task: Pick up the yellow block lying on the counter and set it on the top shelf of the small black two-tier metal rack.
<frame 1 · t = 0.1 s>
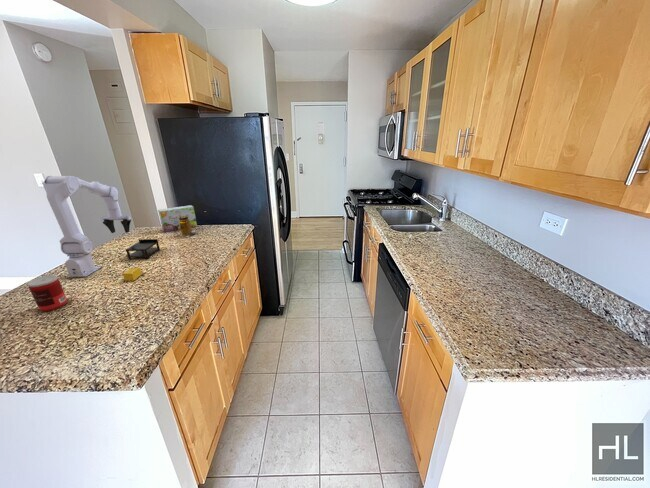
hand: (120, 232, 145), 10 cm above the countertop, tool pointing down, fingers open, 7 cm apart
yellow block: (133, 277, 118), on the countertop
condiment: (188, 234, 172), on the countertop
canned food: (54, 306, 97), on the countertop
rack: (145, 254, 141), on the countertop
snack box: (180, 228, 184), on the countertop
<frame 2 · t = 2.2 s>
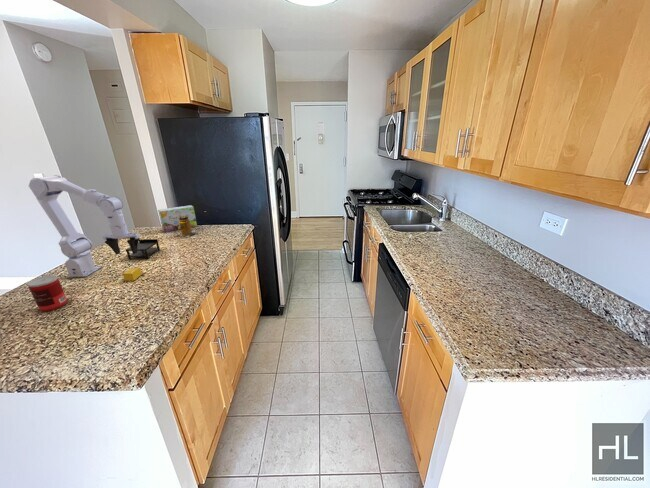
hand: (126, 253, 119), 10 cm above the countertop, tool pointing down, fingers open, 7 cm apart
nothing on the countertop moved.
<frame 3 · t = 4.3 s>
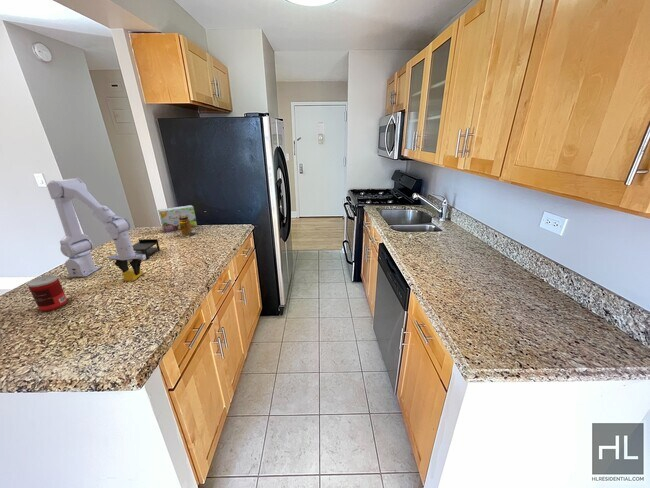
hand: (132, 274, 117), 2 cm above the countertop, tool pointing down, fingers closed on yellow block, 4 cm apart
yellow block: (133, 277, 118), on the countertop, touching gripper
everything else where it was.
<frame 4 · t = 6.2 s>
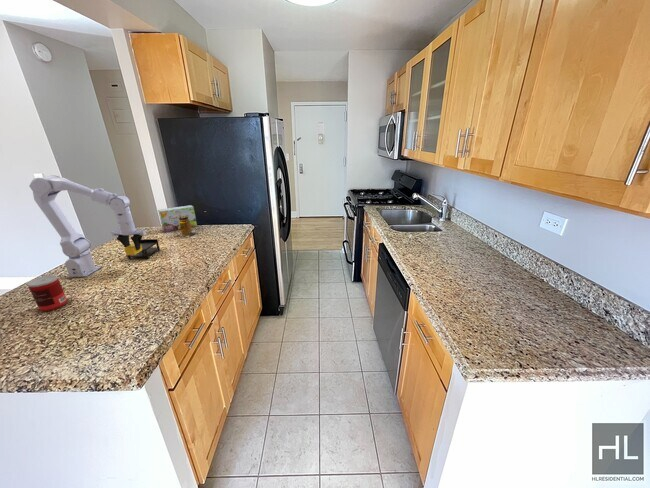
hand: (133, 249, 124), 9 cm above the countertop, tool pointing down, fingers closed on yellow block, 4 cm apart
yellow block: (134, 252, 125), point 8 cm above the countertop, touching gripper
everything else where it was.
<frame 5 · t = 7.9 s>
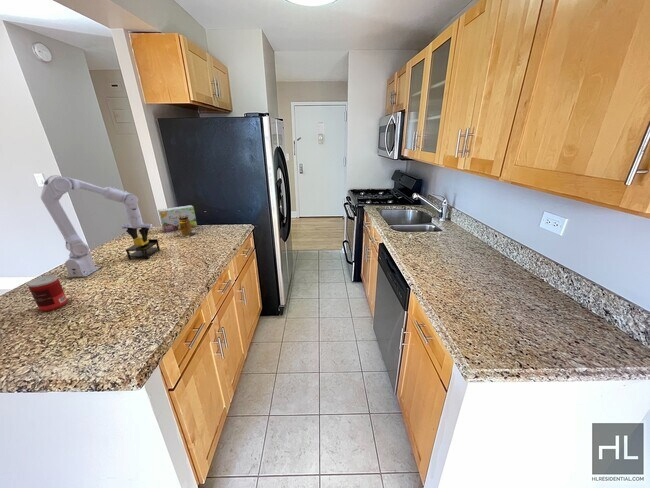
hand: (141, 241, 138), 8 cm above the countertop, tool pointing down, fingers closed on yellow block, 4 cm apart
yellow block: (142, 243, 139), point 6 cm above the countertop, touching gripper
everything else where it was.
when the fingers open (7 cm above the countertop, at t = 8.5 s): yellow block stays where it is, resting on rack.
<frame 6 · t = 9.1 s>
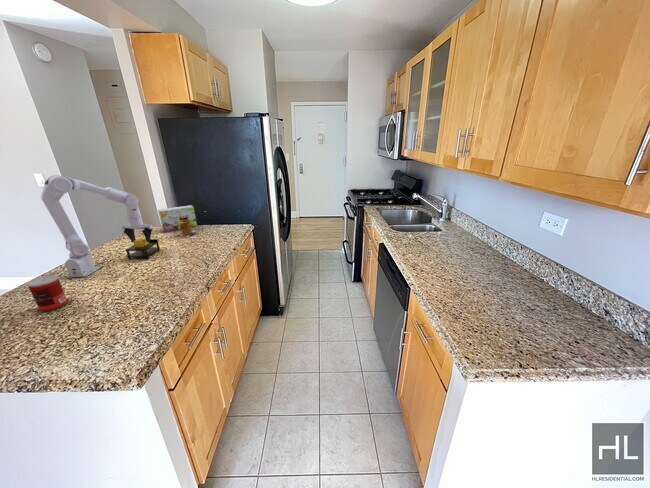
hand: (141, 241, 138), 8 cm above the countertop, tool pointing down, fingers open, 7 cm apart
yellow block: (142, 245, 139), point 6 cm above the countertop, touching rack
everything else where it was.
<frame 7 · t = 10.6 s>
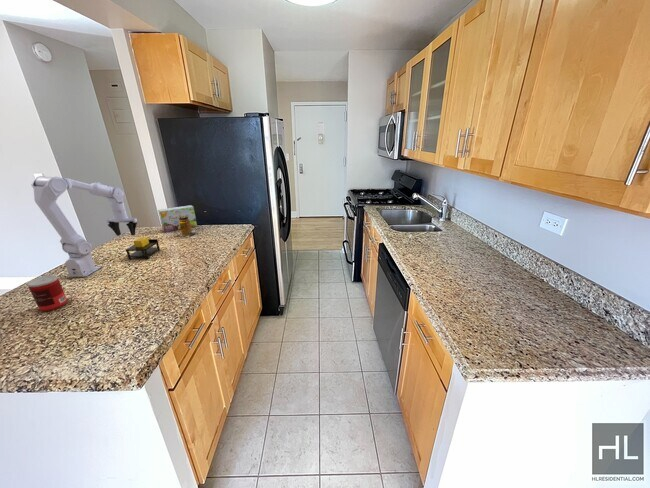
hand: (126, 235, 140), 10 cm above the countertop, tool pointing down, fingers open, 7 cm apart
nothing on the countertop moved.
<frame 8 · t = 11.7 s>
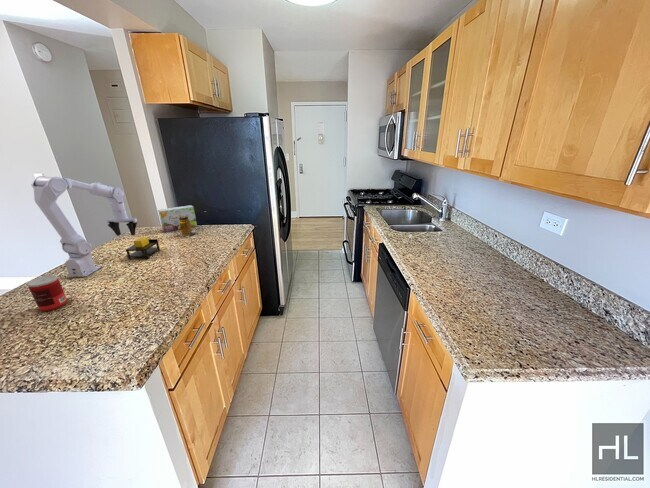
hand: (126, 235, 140), 10 cm above the countertop, tool pointing down, fingers open, 7 cm apart
nothing on the countertop moved.
at the end: yellow block inside the target area on the rack (0.0 cm from its centre), point 5.6 cm above the rack's base; the gripper is holding nothing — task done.
